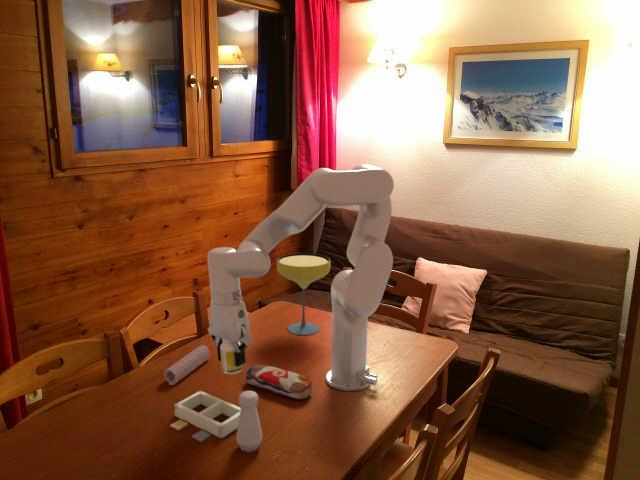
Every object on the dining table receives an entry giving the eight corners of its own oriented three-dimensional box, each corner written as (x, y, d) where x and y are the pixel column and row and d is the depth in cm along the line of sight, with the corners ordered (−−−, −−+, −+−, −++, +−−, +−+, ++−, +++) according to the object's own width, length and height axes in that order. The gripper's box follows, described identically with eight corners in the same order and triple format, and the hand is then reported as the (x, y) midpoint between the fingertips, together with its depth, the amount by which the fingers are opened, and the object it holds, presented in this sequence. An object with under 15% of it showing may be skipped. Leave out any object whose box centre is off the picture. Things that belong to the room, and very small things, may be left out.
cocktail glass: (337, 324, 188) (338, 256, 182) (316, 343, 172) (317, 269, 166) (292, 316, 195) (292, 250, 189) (267, 334, 179) (266, 262, 173)
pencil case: (286, 410, 133) (286, 392, 132) (240, 383, 146) (239, 366, 145) (318, 395, 140) (318, 378, 139) (271, 370, 154) (271, 354, 153)
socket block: (247, 421, 127) (246, 410, 127) (221, 438, 121) (221, 426, 120) (200, 401, 136) (200, 390, 136) (174, 415, 129) (174, 404, 129)
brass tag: (188, 425, 126) (188, 423, 126) (178, 430, 123) (178, 429, 123) (180, 420, 127) (179, 419, 127) (170, 426, 125) (170, 425, 125)
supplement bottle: (247, 368, 140) (244, 333, 137) (233, 377, 135) (230, 341, 133) (231, 363, 142) (228, 329, 140) (217, 372, 138) (214, 337, 136)
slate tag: (210, 435, 122) (210, 434, 121) (201, 442, 119) (200, 440, 119) (201, 431, 123) (201, 429, 123) (191, 437, 121) (191, 436, 121)
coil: (176, 372, 143) (212, 346, 159) (161, 368, 144) (198, 342, 160) (175, 388, 144) (211, 360, 160) (161, 383, 145) (198, 356, 162)
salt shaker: (237, 439, 120) (235, 387, 117) (262, 438, 121) (261, 386, 118) (235, 455, 115) (234, 401, 112) (262, 454, 115) (261, 400, 112)
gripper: (261, 297, 132) (266, 363, 136) (213, 286, 142) (218, 349, 146) (240, 306, 126) (246, 376, 130) (191, 295, 136) (198, 359, 140)
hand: (231, 361), depth 138 cm, fingers closed on supplement bottle, 5 cm apart
